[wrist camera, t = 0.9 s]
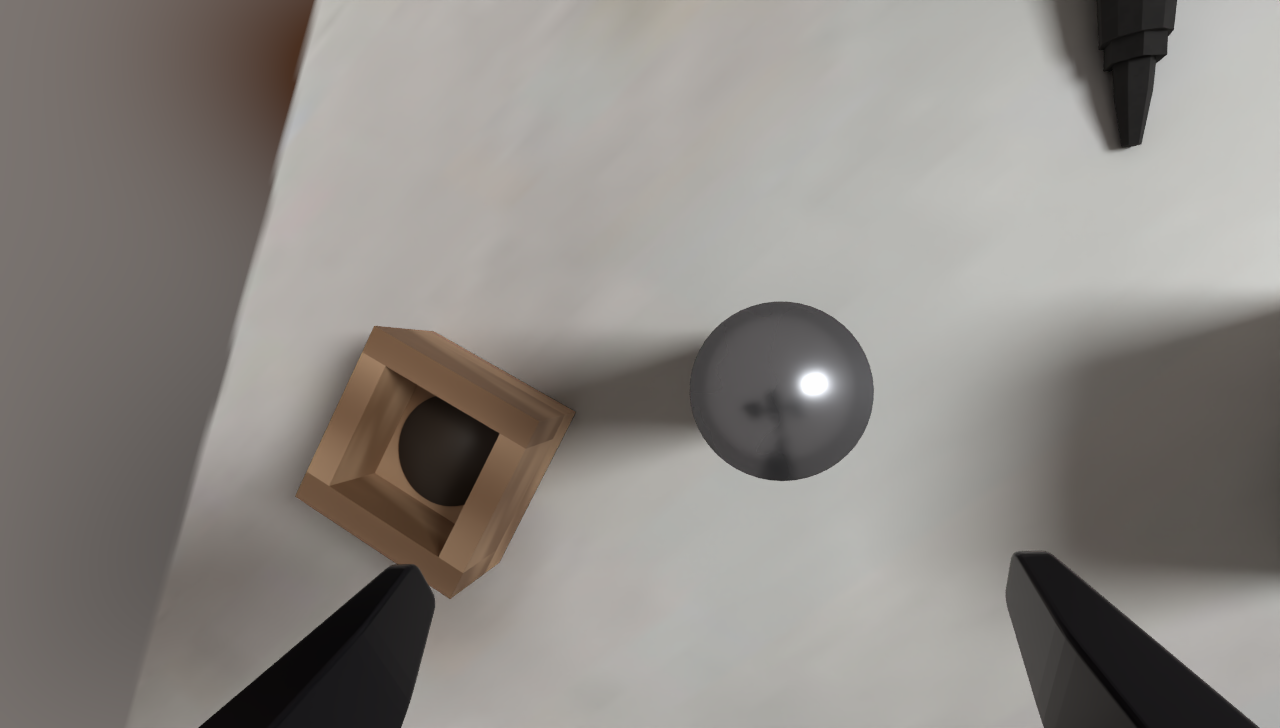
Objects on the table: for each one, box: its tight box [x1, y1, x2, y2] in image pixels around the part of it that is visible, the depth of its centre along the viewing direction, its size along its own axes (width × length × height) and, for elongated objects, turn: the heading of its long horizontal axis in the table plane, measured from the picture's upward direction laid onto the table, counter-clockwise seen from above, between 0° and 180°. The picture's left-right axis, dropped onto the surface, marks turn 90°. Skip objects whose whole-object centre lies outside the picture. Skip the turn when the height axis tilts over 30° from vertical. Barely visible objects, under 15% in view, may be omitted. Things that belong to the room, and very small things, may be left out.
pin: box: [690, 302, 874, 481], centre depth 20 cm, size 4×4×12 cm
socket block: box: [295, 326, 576, 599], centre depth 26 cm, size 8×8×4 cm
